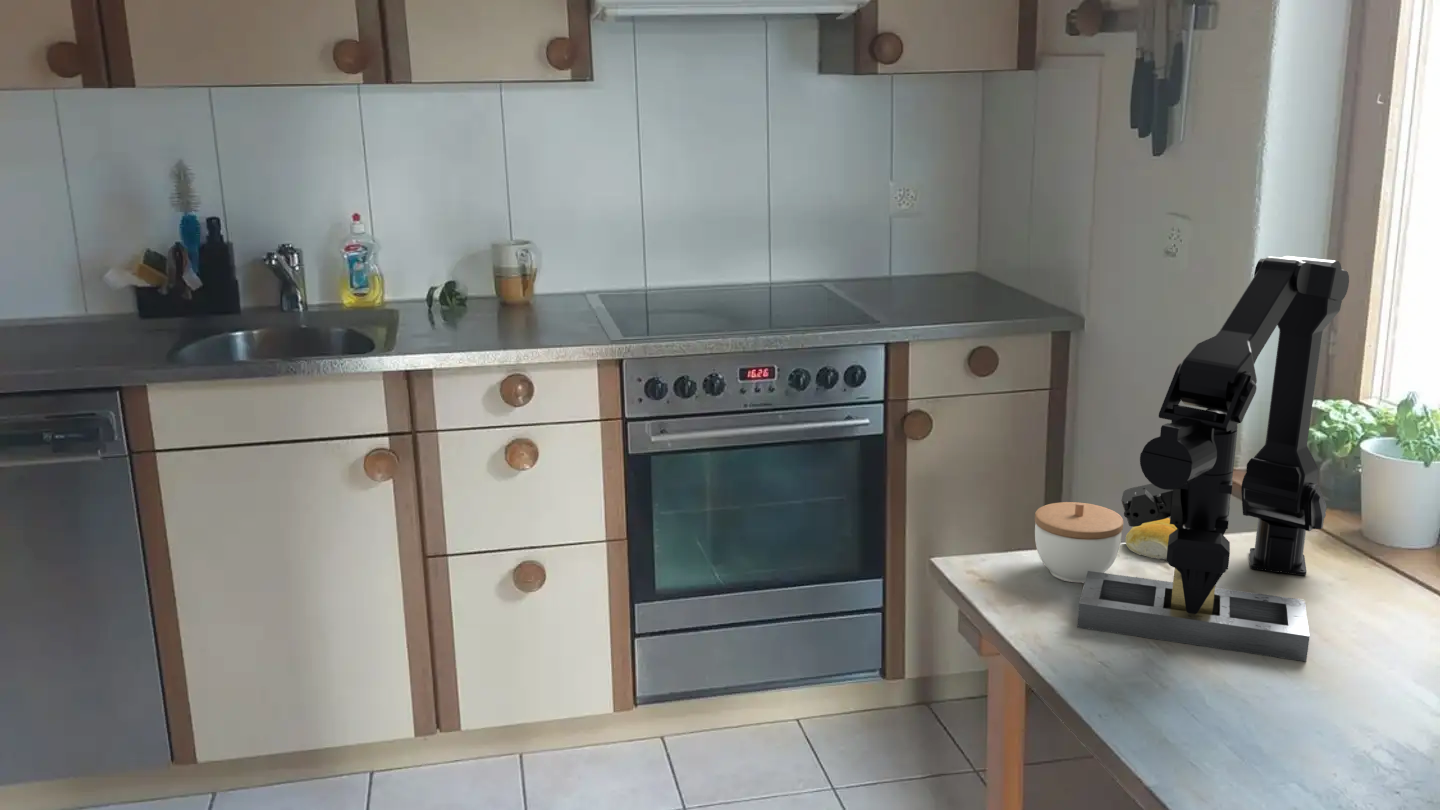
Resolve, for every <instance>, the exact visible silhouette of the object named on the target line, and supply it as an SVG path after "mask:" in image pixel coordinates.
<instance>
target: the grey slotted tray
mask: <svg viewBox="0 0 1440 810" xmlns="http://www.w3.org/2000/svg"><path fill="white" fill-rule="evenodd" d="M1172 589H1173V581H1166V580H1161V579H1160V580H1159V579H1158V580H1157V579H1151V578H1144V577H1137V576H1136V577H1135V576H1128V575H1122V574H1113V573H1107V572H1105V573H1100V572H1093V571H1088V573H1087V576H1086V580H1085V583H1083V587H1082V591H1081V595H1080V599H1079V602H1078V610H1077V611H1078V612H1077V613H1078V614H1077V623H1076V624H1077V625H1076V627H1077V628H1080V629H1085V630H1092V631H1099V632H1104V633H1105V632H1106V633H1111V634H1113V633H1114V634H1120V635H1126V636H1133V637H1139V638H1140V637H1141V638H1145V639H1146V638H1147V639H1154V640H1159V641H1167V642H1171V643H1172V642H1173V643H1180V644H1184V645H1185V644H1187V645H1193V646H1199V647H1205V648H1213V649H1219V650H1227V651H1232V652H1239V653H1244V654H1245V653H1246V654H1251V655H1261V656H1266V657H1273V658H1280V659H1286V660H1294V661H1301V662H1307V661H1308V654H1309V653H1308V652H1309V644H1310V628H1309V623H1308V622H1309V621H1308V614H1307V608H1306V607H1307V606H1306V600H1305V599H1301V598H1295V597H1294V598H1293V597H1287V596H1280V595H1279V596H1278V595H1272V594H1271V595H1270V594H1264V593H1256V592H1251V591H1250V592H1248V591H1243V590H1242V591H1241V590H1233V589H1225V588H1220V587H1215V592H1214V601H1213V611H1212V615H1208V614H1201V613H1197V614H1192V613H1187V612H1186V611H1180V610H1173V609H1171V600H1172Z"/></svg>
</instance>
